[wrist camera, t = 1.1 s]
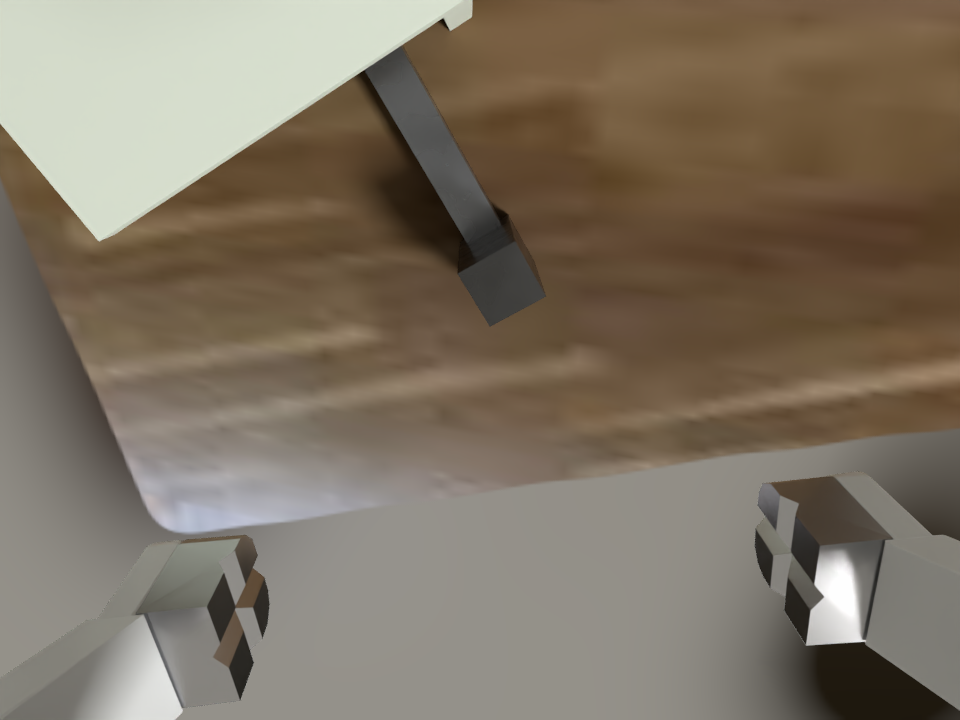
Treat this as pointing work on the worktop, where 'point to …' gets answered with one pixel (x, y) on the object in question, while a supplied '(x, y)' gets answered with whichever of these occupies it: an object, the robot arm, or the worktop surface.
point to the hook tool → (459, 195)
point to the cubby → (177, 84)
